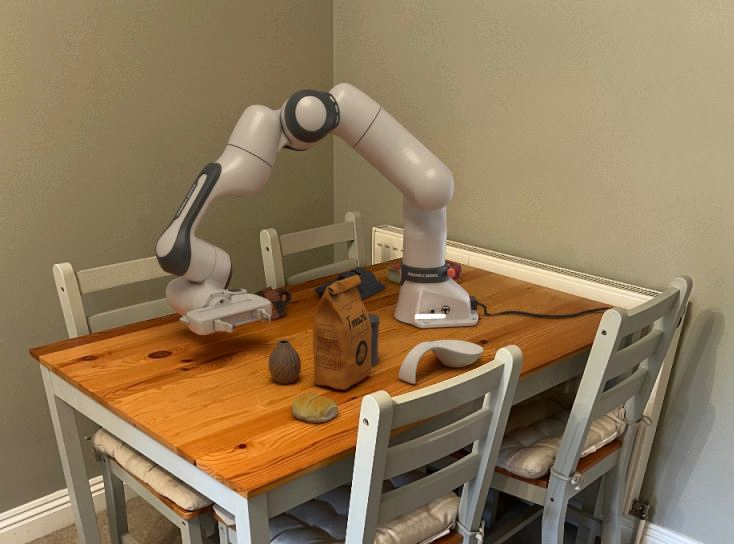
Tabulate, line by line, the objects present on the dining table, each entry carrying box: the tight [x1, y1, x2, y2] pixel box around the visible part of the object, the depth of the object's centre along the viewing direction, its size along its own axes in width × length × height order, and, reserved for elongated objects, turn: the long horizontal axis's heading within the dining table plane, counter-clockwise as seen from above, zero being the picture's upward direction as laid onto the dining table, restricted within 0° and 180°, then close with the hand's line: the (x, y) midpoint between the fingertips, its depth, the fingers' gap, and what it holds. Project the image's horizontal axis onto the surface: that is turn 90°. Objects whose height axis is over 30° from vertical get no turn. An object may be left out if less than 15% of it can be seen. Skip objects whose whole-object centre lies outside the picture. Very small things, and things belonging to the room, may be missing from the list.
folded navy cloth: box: [314, 266, 386, 301], centre depth 217 cm, size 15×22×5 cm
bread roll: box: [291, 392, 339, 424], centre depth 146 cm, size 8×9×4 cm
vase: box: [268, 339, 302, 385], centre depth 159 cm, size 7×7×9 cm
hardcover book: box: [385, 259, 463, 286], centre depth 229 cm, size 12×21×4 cm, turn 130°
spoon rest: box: [397, 339, 484, 385], centre depth 166 cm, size 24×12×7 cm, turn 137°
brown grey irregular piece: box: [254, 285, 293, 321], centre depth 198 cm, size 12×10×8 cm
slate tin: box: [367, 312, 381, 367], centre depth 169 cm, size 7×7×10 cm
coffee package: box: [312, 275, 373, 391], centre depth 156 cm, size 10×12×22 cm
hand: (250, 323), depth 163 cm, fingers open, 8 cm apart
